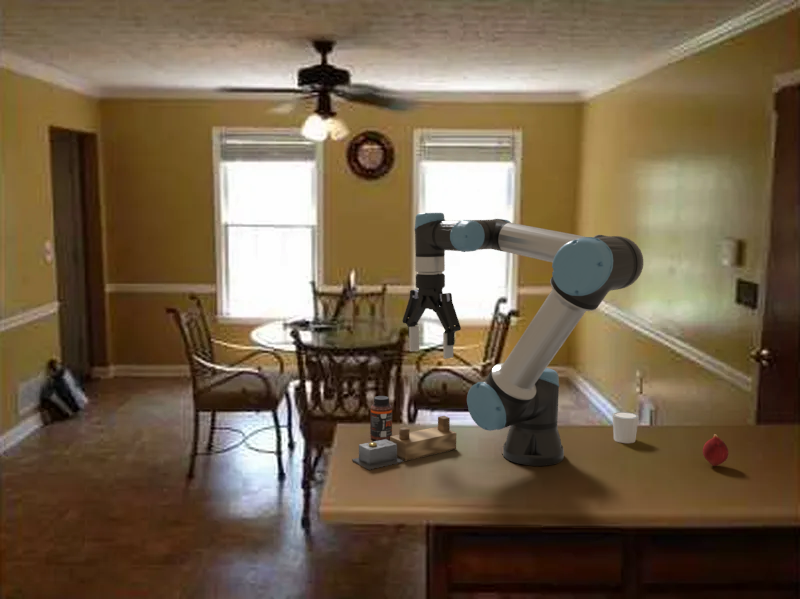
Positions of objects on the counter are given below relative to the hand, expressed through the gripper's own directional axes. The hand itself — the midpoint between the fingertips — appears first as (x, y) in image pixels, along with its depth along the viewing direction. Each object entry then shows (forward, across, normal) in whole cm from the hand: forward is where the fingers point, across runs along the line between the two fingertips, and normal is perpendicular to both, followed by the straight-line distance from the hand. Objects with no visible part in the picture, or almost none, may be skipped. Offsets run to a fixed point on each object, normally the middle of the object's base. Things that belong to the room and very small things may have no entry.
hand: (430, 354), depth 201 cm
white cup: (+26, -28, -45) cm, 59 cm away
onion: (+26, -54, -45) cm, 75 cm away
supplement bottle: (+24, +14, +6) cm, 29 cm away
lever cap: (+24, -1, +18) cm, 30 cm away
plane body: (+25, -2, +4) cm, 25 cm away
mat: (+25, -1, +18) cm, 31 cm away
